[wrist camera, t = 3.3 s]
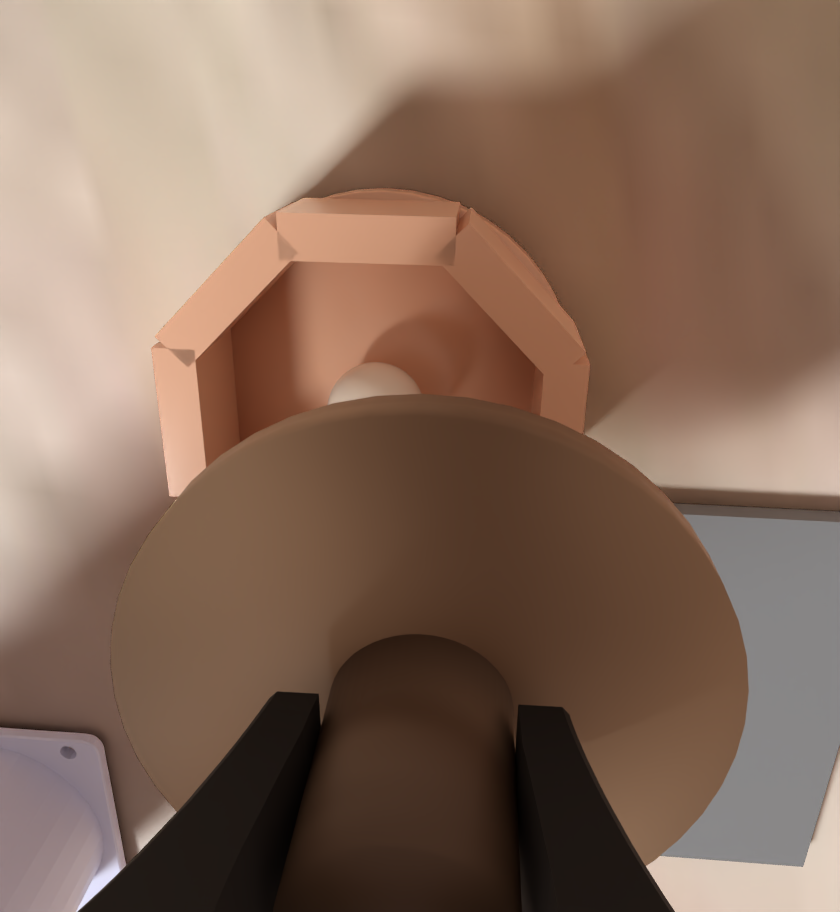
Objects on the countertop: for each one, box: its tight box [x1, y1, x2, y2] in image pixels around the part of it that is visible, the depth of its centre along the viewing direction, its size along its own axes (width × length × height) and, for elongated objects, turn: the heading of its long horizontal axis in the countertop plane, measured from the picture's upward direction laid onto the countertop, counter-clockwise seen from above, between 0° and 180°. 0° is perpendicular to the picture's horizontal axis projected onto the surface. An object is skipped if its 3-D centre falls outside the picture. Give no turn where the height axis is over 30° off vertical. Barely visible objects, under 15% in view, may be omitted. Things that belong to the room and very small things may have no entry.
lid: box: [110, 394, 749, 912], centre depth 11 cm, size 10×10×4 cm
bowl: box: [151, 188, 590, 497], centre depth 18 cm, size 9×9×4 cm
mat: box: [660, 503, 840, 867], centre depth 23 cm, size 12×12×1 cm
